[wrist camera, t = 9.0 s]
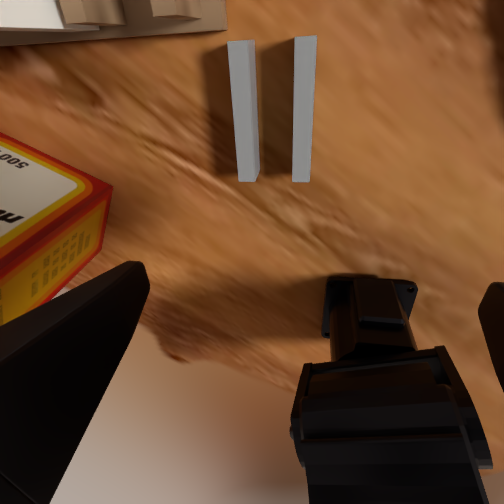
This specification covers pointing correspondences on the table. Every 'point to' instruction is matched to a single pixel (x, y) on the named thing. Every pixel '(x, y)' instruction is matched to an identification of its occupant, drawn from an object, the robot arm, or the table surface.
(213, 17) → the rack
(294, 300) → the table surface
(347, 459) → the robot arm
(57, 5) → the white slim box
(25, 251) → the baking soda box
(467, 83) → the table surface
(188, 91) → the table surface
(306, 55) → the stand
